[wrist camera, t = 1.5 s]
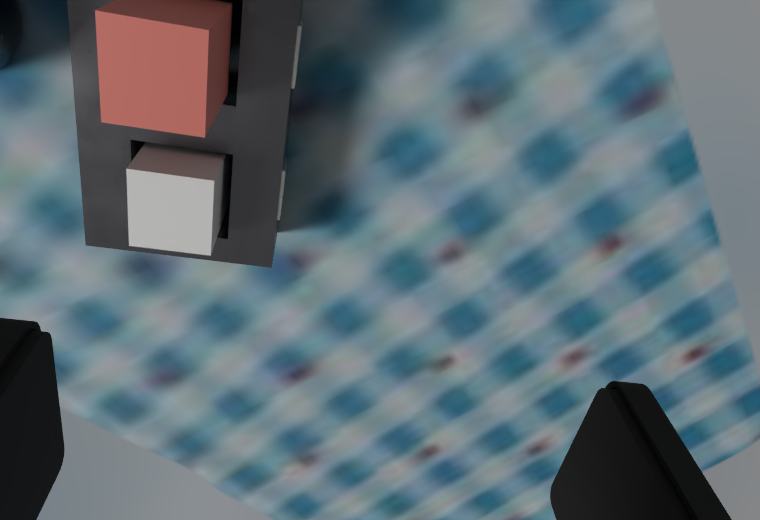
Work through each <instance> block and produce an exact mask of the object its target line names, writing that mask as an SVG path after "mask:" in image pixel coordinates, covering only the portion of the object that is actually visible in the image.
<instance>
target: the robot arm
mask: <svg viewBox="0 0 760 520" xmlns="http://www.w3.org/2000/svg"><path fill="white" fill-rule="evenodd" d="M63 458H64V440H63V432H62V423H61V415H60V406H59V397H58V389H57V380H56V372H55V363H54V354H53V346H52V338H51V335H50V333H48V332H42V331H41V329H40V326H39V324H38V323H37V322H34V321H25V320H15V319H5V318H0V520H36V519H37V517H38V515H39V513H40V511H41V509H42V507H43V505H44V502H45V500H46V498H47V496H48V494H49V492H50V490H51V488H52V486H53V484H54V482H55V480H56V478H57V475H58V473H59V471H60V469H61V466H62V462H63ZM550 498H551V504H552V508H553V511H554V514H555V517H556V519H557V520H731V518H730V516H729V515H728V513H727V512H726V510H725V508H724V507H723V505H722V504H721V502H720V500H719V499H718V497H717V496H716V494H715V493H714V491H713V489H712V488H711V486H710V485H709V483H708V481H707V480H706V478H705V477H704V475H703V473H702V472H701V470H700V469H699V467H698V465H697V464H696V462H695V461H694V459H693V457H692V456H691V454H690V453H689V451H688V450H687V448H686V446H685V445H684V443H683V442H682V440H681V438H680V437H679V435H678V434H677V432H676V430H675V429H674V427H673V426H672V424H671V422H670V421H669V419H668V418H667V416H666V414H665V413H664V411H663V410H662V408H661V407H660V405H659V403H658V402H657V400H656V399H655V397H654V395H653V394H652V392H651V391H650V389H649V388H648V387H647V386H646V385H644V384H638V383H628V382H618V381H612V382H610V383H609V384H608V385H607V386H606V388H601V389H600V390H598V392H597V393H596V395H595V397H594V399H593V401H592V403H591V405H590V408H589V410H588V412H587V414H586V416H585V418H584V420H583V422H582V424H581V426H580V428H579V430H578V432H577V434H576V436H575V438H574V440H573V442H572V444H571V447H570V449H569V451H568V453H567V455H566V457H565V459H564V461H563V463H562V465H561V467H560V469H559V471H558V473H557V475H556V477H555V479H554V481H553V484H552V486H551V492H550Z"/></svg>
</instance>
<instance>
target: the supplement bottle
mask: <svg viewBox="0 0 760 520" xmlns="http://www.w3.org/2000/svg"><path fill="white" fill-rule="evenodd" d="M20 35H21V18H20V12H19V8H18V5H17V2H16V0H0V68H2V67H3V66H4V65H5V64H7V63H8V62H9V60H10V59H11V58H12V56H13V55H14V53H15V51H16V49H17V47H18V44H19V40H20Z"/></svg>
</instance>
